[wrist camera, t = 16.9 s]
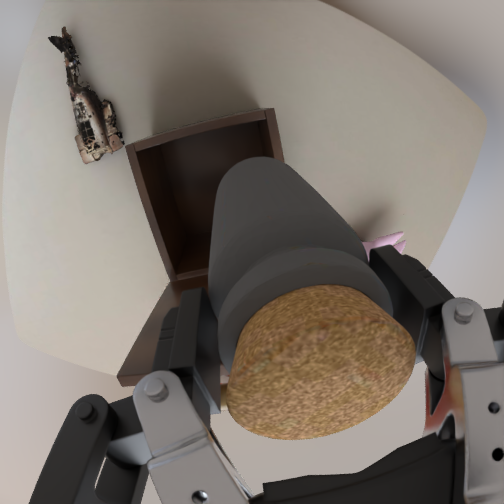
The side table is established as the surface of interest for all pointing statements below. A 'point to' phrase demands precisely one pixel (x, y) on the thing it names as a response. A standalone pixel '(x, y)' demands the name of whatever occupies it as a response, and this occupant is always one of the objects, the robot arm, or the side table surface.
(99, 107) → the airplane wreck
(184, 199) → the chest
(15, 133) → the side table surface
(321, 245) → the bottle
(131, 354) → the lid
